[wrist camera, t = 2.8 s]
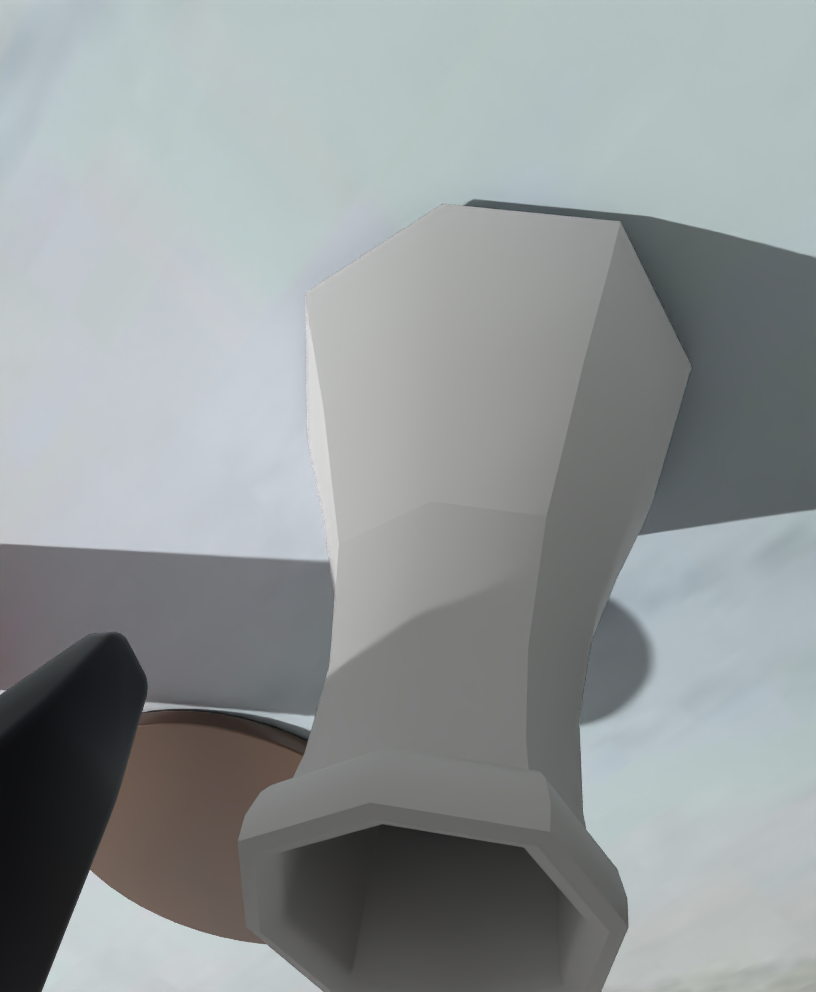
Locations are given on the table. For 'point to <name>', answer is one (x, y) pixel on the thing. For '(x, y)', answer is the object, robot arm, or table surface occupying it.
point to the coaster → (191, 815)
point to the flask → (465, 604)
